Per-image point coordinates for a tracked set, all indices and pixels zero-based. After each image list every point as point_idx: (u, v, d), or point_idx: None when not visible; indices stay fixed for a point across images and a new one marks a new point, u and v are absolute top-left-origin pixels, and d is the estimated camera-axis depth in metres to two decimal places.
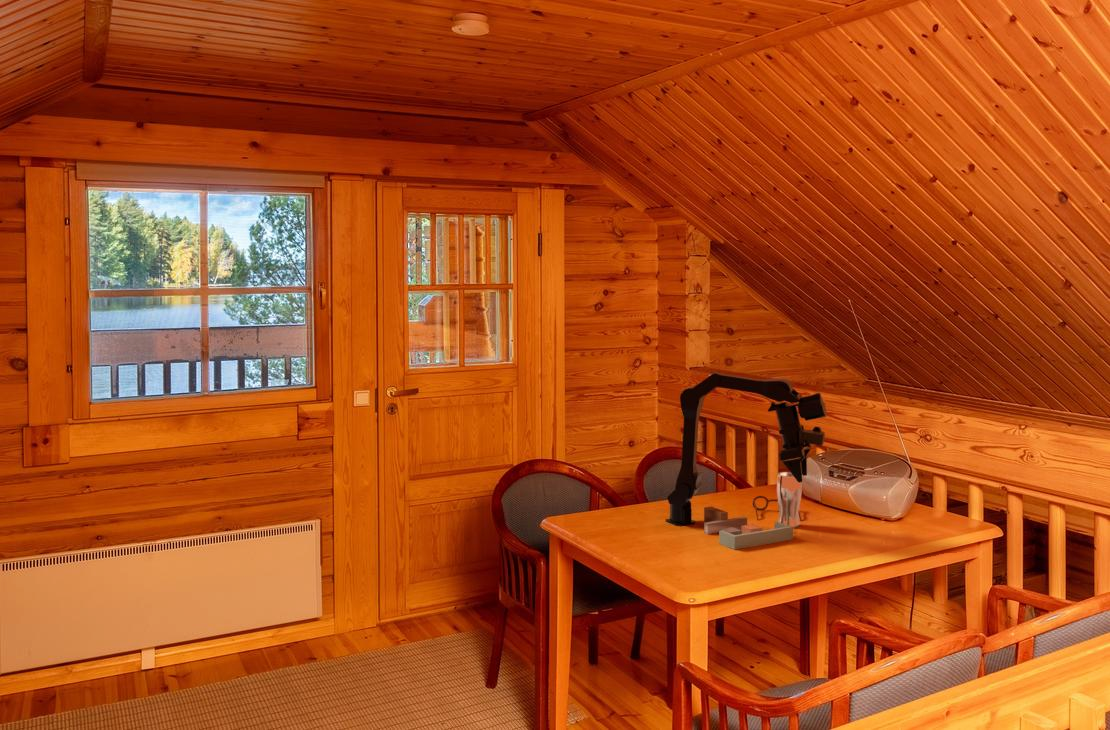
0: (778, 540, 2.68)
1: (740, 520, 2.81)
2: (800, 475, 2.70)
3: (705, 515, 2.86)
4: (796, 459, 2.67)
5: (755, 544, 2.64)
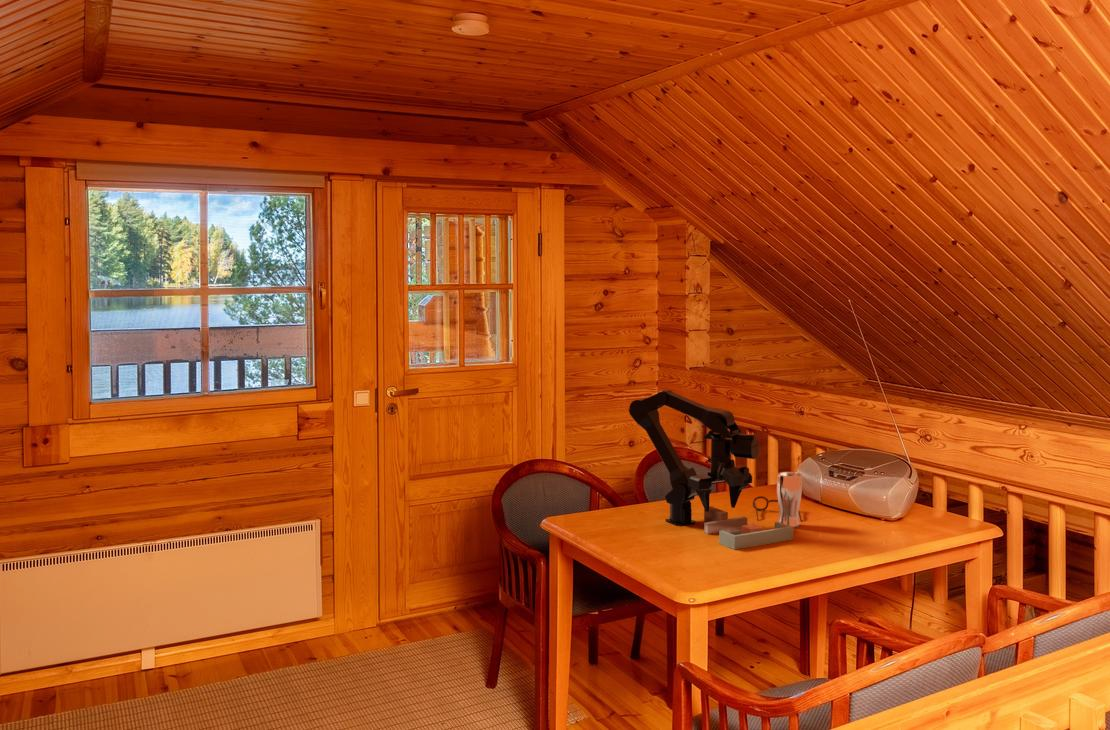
0: (778, 540, 2.68)
1: (740, 520, 2.81)
2: (706, 505, 2.78)
3: (705, 515, 2.86)
4: (699, 489, 2.76)
5: (755, 544, 2.64)
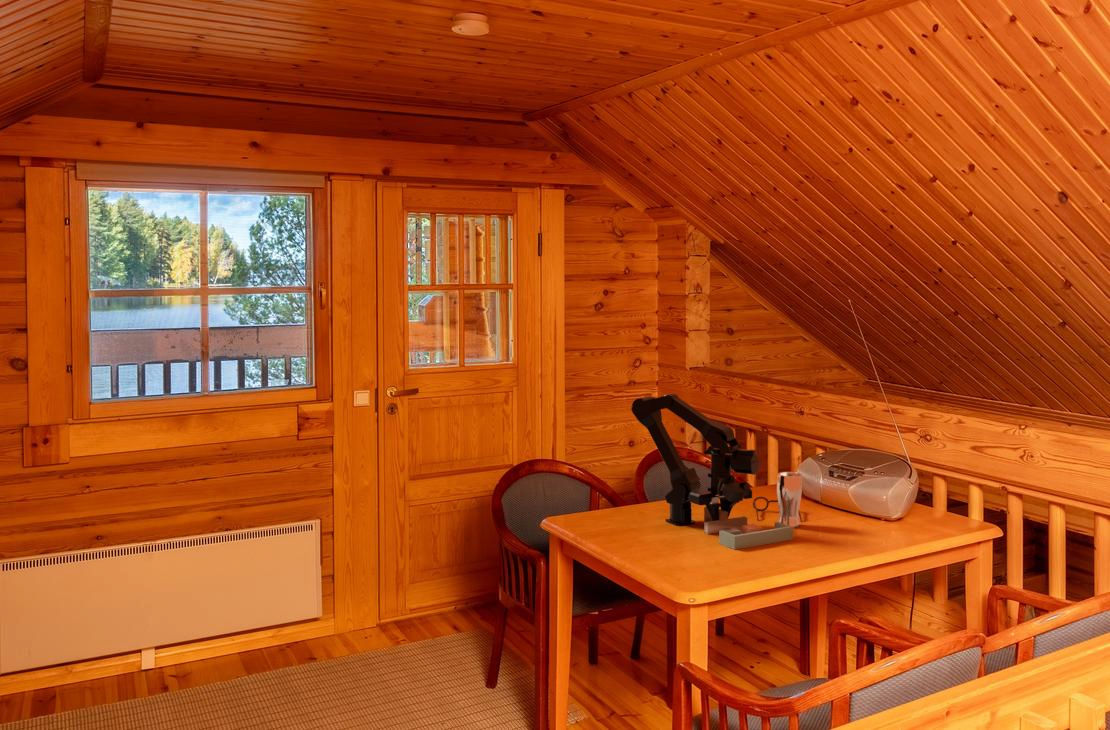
0: (778, 540, 2.68)
1: (740, 520, 2.81)
2: (716, 519, 2.80)
3: (705, 515, 2.86)
4: (709, 504, 2.78)
5: (755, 544, 2.64)
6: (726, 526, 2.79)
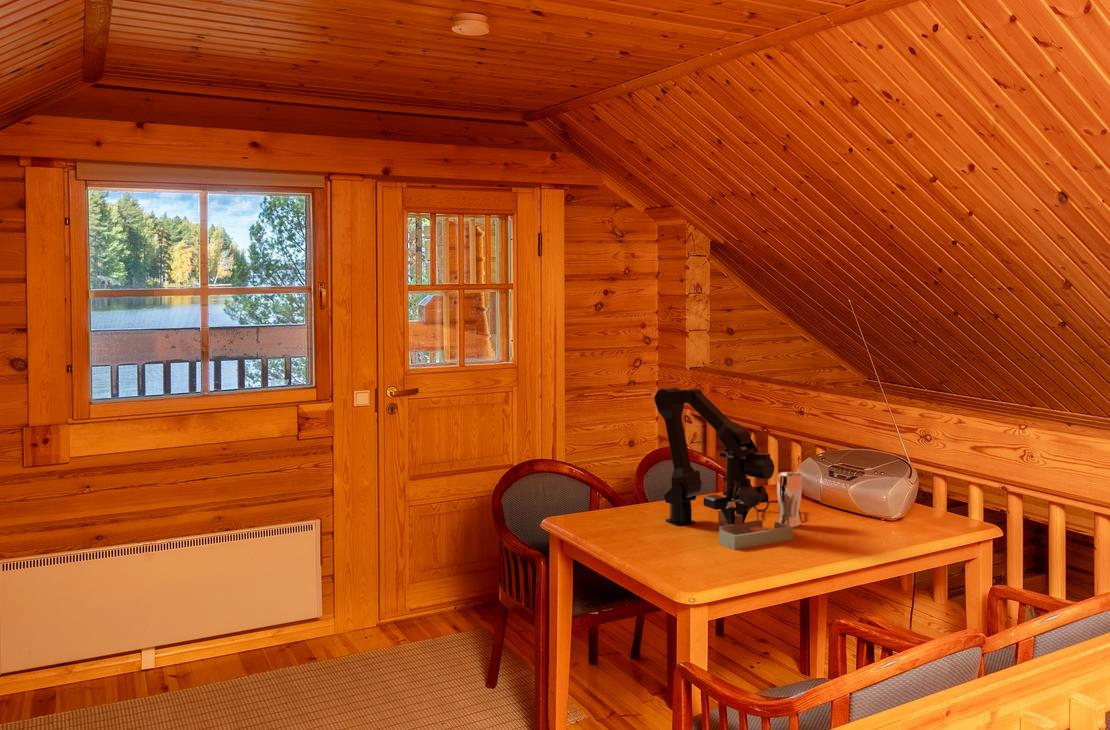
0: (778, 540, 2.68)
1: (755, 523, 2.75)
2: None
3: (719, 519, 2.80)
4: (724, 508, 2.72)
5: (755, 544, 2.64)
6: None
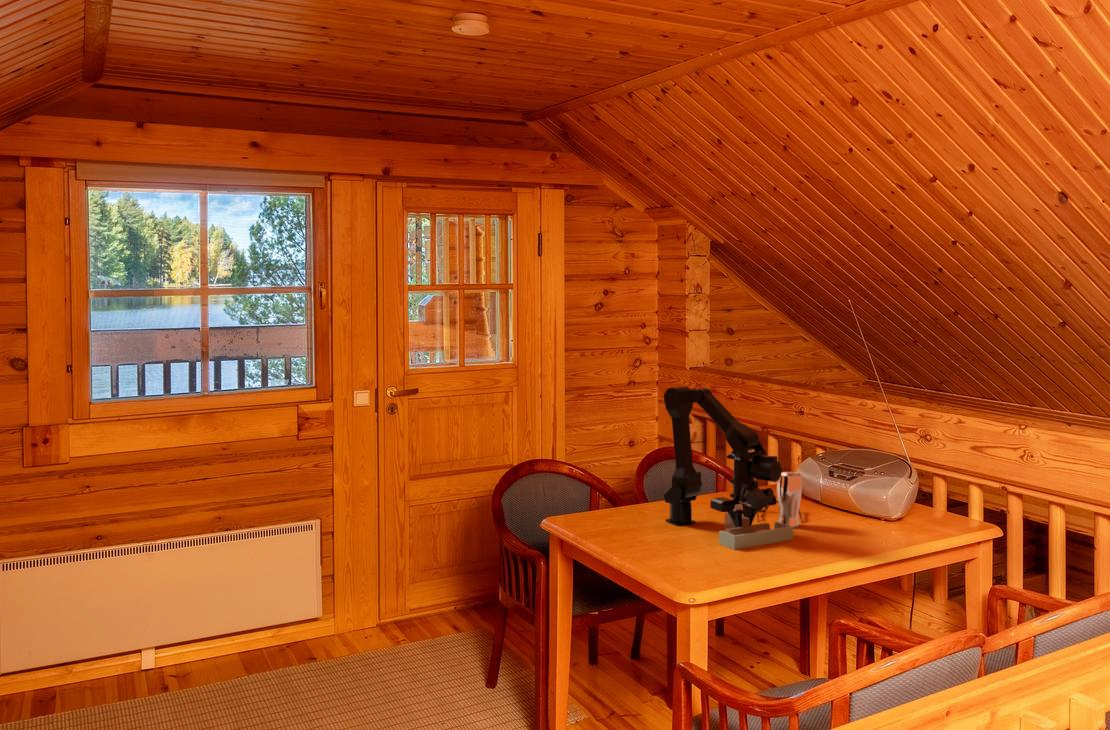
0: (778, 540, 2.68)
1: (762, 526, 2.73)
2: None
3: (726, 521, 2.77)
4: (731, 510, 2.69)
5: (755, 544, 2.64)
6: None
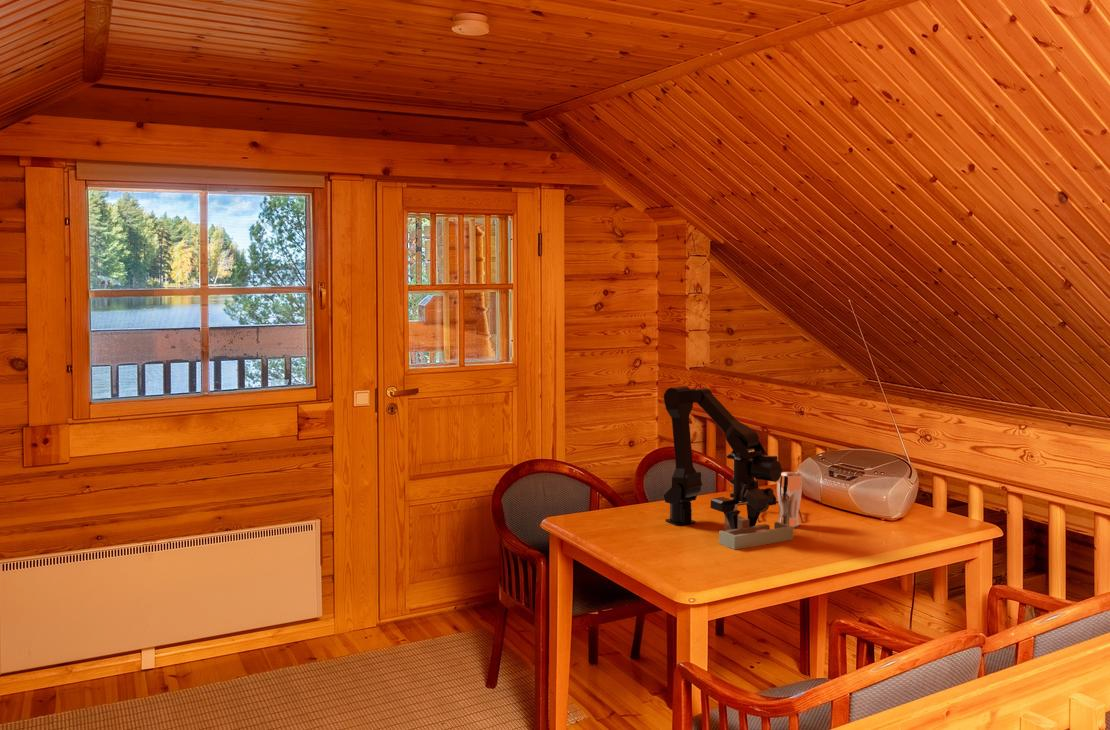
0: (778, 540, 2.68)
1: (762, 528, 2.73)
2: (734, 527, 2.71)
3: (726, 522, 2.78)
4: None
5: (755, 544, 2.64)
6: None
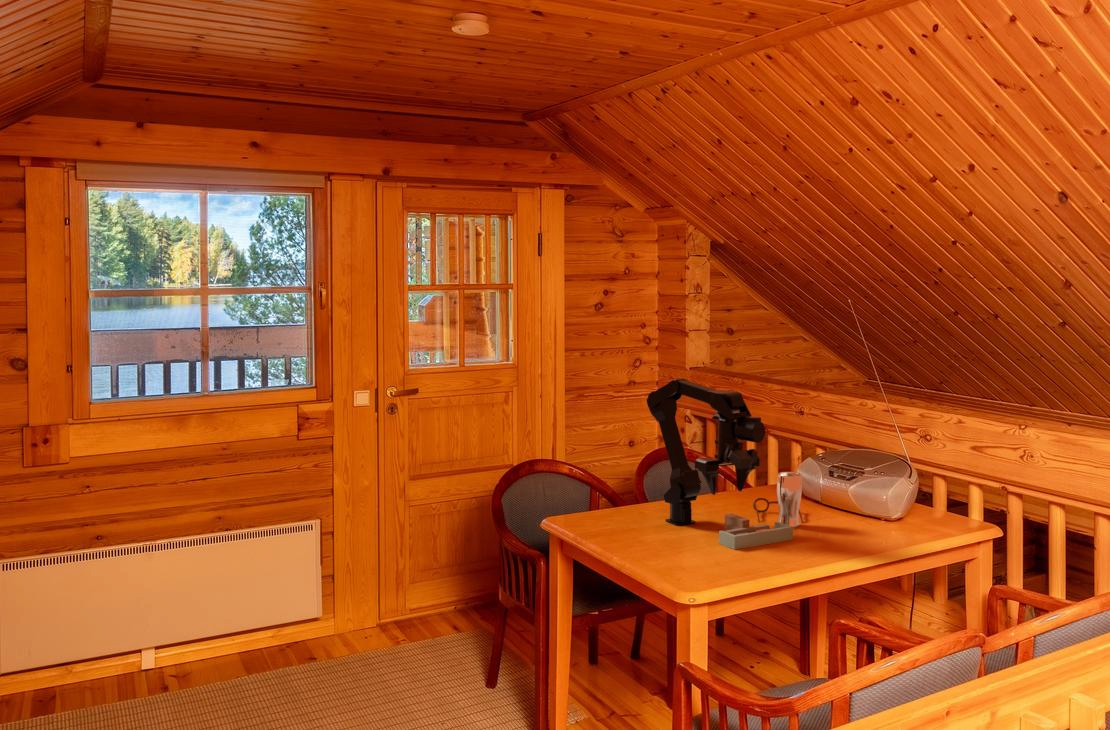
0: (778, 540, 2.68)
1: (762, 528, 2.73)
2: (713, 488, 2.72)
3: (726, 522, 2.78)
4: (706, 472, 2.70)
5: (755, 544, 2.64)
6: None
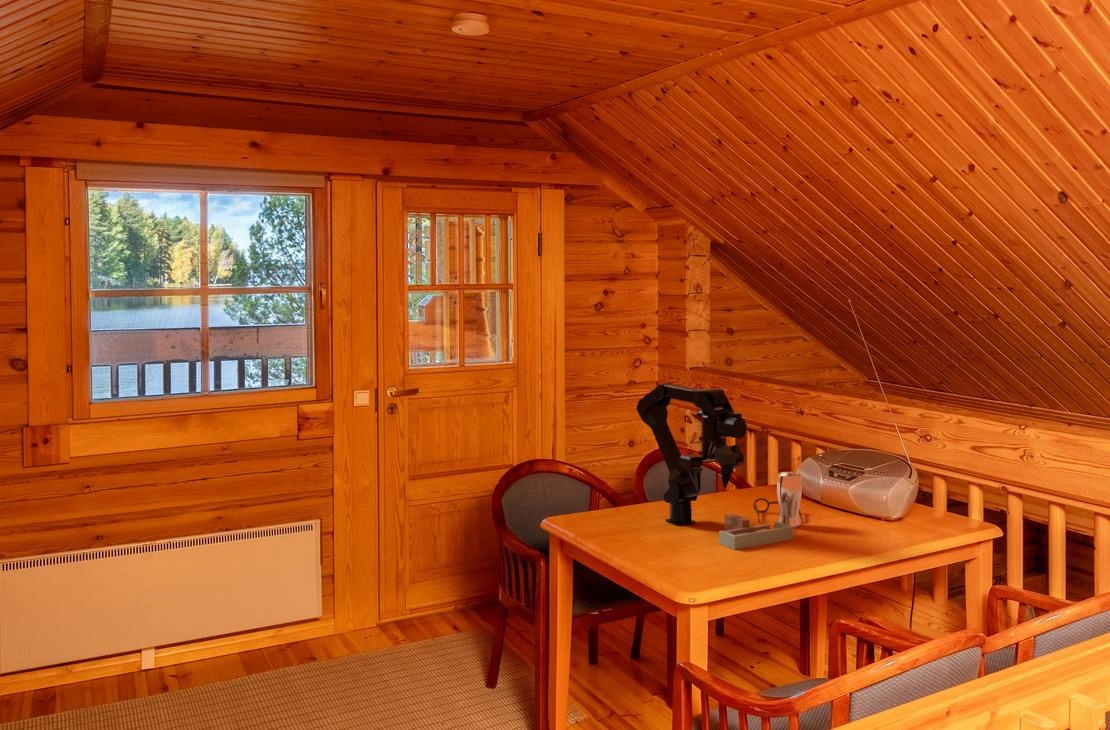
0: (778, 540, 2.68)
1: (762, 528, 2.73)
2: (698, 484, 2.75)
3: (726, 522, 2.78)
4: (690, 468, 2.73)
5: (755, 544, 2.64)
6: None
